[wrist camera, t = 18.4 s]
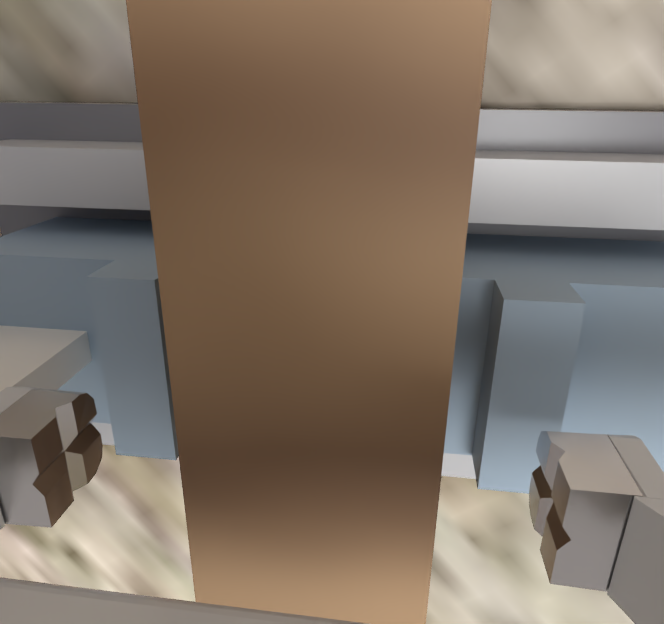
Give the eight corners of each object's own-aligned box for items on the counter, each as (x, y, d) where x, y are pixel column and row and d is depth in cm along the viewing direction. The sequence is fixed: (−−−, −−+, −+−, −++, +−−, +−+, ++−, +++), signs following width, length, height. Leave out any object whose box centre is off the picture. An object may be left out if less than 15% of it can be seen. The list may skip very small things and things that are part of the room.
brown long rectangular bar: (190, -123, 10) (101, -211, 7) (483, -134, 9) (517, -235, 6) (246, 659, 17) (215, 769, 14) (406, 681, 16) (406, 800, 14)
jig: (60, 411, 21) (7, 460, 18) (-4, 101, 17) (-87, 103, 14) (676, 464, 18) (724, 531, 15) (782, 113, 14) (874, 117, 11)
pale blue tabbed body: (80, 349, 18) (-118, 504, 11) (56, 216, 17) (-194, 305, 10) (718, 394, 16) (953, 625, 9) (766, 245, 14) (1100, 389, 7)
